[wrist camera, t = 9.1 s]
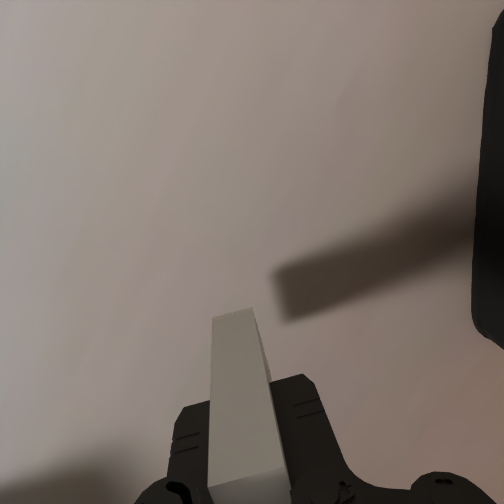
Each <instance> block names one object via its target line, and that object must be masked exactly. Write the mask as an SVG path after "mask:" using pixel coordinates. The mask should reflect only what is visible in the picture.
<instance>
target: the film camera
mask: <svg viewBox="0 0 504 504" xmlns="http://www.w3.org/2000/svg"><path fill="white" fill-rule="evenodd" d="M471 312H472V319H473V323H474V325H475V327H476V329H477V330H478V332H479V333H480V334H482V335H483V336H484V337H485V338H488V339H490V340H492V341H493V342H494V343H496V344H497V345H498V346H500V347H501V348H502V349H504V10H503V11H502V12H501V14H500V15H499V17H498V19H497V21H496V23H495V25H494V27H493V28H492V42H491V49H490V57H489V63H488V75H487V84H486V89H485V97H484V108H483V124H482V138H481V148H480V164H479V178H478V187H477V199H476V218H475V231H474V247H473V260H472V289H471Z"/></svg>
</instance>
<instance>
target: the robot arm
mask: <svg viewBox="0 0 504 504" xmlns="http://www.w3.org/2000/svg"><path fill="white" fill-rule="evenodd" d="M172 440H173V443H172V445H171V451H170V455H171V457H170V458H169V465H168V471H167V477H165V478H163V479H160V480H158V481H156V482H154V483H153V484H152V485H151V486H149V487H148V488H147V489H146V490H145V491H143V492H142V494H141V495H140V496H139V498H138V499H137V500H136V502H135V503H134V504H496V503H495V502H494V501H493V500H492V499H491V498H490V497H489V496H488V495H487V494H486V493H485V492H484V491H482V490H481V489H480V488H479V487H477V486H476V485H475V484H473V483H472V482H470V481H469V480H468V479H466V478H464V477H461V476H458V475H455V474H453V473H450V472H431V473H428V474H425V475H422V476H420V477H419V478H418V479H417V480H416V481H415V482H414V483H413V484H412V486H411V489H410V490H404V489H389V488H382V487H376V486H373V485H371V484H368V483H366V482H364V481H363V480H361V479H360V478H358V477H357V476H356V475H355V474H354V473H353V472H352V471H351V470H350V469H349V468H348V466H347V464H346V462H345V460H344V458H343V455H342V453H341V450H340V448H339V445H338V443H337V440H336V438H335V435H334V433H333V430H332V427H331V425H330V422H329V420H328V417H327V415H326V413H325V410H324V407H323V405H322V402H321V400H320V397H319V394H318V392H317V389H316V387H315V384H314V383H313V382H312V381H311V380H309V379H308V378H307V377H306V376H305V375H304V374H299V375H296V376H292V377H288V378H285V379H281V380H277V381H274V382H272V379H271V374H270V370H269V366H268V362H267V359H266V355H265V352H264V348H263V344H262V341H261V337H260V334H259V330H258V327H257V323H256V319H255V316H254V312H253V309H252V307H251V308H247V309H244V310H240V311H236V312H233V313H229V314H225V315H222V316H218V317H214V318H212V347H211V383H210V400H209V401H205V402H201V403H198V404H194V405H190V406H187V407H184V408H183V410H182V411H181V413H180V415H179V417H178V418H177V420H176V422H175V424H174V431H173V438H172Z"/></svg>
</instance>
